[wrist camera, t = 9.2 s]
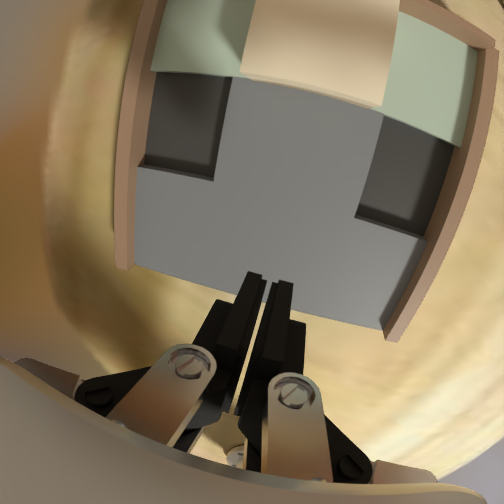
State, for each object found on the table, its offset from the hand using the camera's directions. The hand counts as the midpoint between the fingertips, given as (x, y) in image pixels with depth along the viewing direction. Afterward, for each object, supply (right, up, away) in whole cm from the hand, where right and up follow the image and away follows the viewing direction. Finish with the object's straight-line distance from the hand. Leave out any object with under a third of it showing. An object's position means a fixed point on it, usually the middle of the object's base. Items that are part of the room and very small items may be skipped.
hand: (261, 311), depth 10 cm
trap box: (+2, +8, +4) cm, 9 cm away
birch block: (+3, +13, +1) cm, 13 cm away
